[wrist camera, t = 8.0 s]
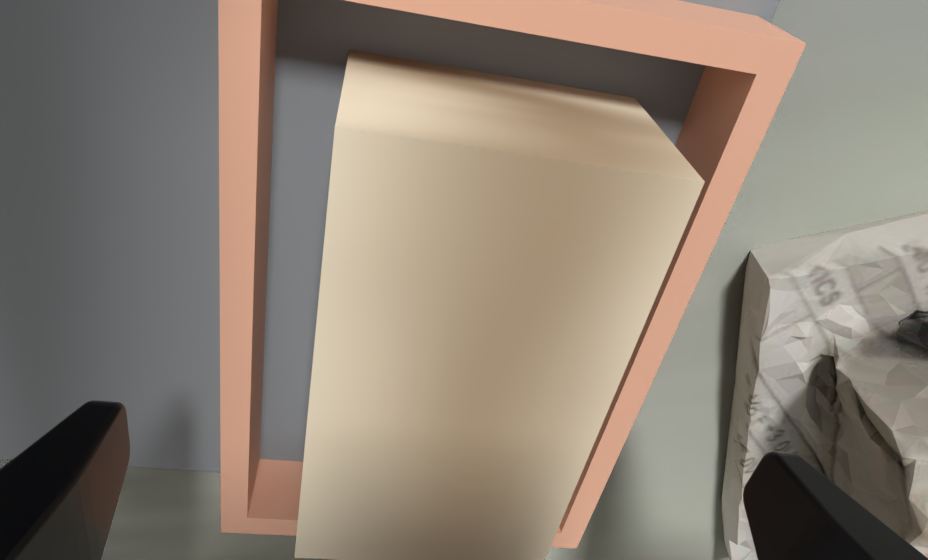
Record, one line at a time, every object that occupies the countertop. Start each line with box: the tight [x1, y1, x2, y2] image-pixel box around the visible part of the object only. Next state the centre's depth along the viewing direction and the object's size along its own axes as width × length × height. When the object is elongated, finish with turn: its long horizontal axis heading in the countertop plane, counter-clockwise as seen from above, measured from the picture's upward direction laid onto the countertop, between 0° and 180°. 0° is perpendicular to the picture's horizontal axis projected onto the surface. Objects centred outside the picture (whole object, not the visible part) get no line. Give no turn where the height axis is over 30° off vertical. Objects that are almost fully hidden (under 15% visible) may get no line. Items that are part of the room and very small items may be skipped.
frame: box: [218, 0, 806, 548], centre depth 12 cm, size 11×8×2 cm
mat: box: [0, 0, 780, 472], centre depth 10 cm, size 18×15×1 cm
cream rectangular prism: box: [294, 50, 705, 560], centre depth 11 cm, size 4×8×3 cm, turn 169°
